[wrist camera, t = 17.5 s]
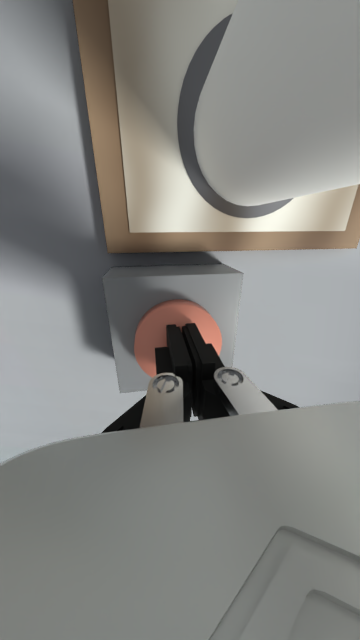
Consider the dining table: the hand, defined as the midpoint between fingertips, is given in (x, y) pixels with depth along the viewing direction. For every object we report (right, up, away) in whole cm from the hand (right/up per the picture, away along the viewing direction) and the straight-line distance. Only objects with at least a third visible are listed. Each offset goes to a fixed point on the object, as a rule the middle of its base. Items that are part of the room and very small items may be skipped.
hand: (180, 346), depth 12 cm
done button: (-1, +1, +3) cm, 4 cm away
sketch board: (+4, +13, 0) cm, 13 cm away
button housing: (-1, +2, +4) cm, 5 cm away
